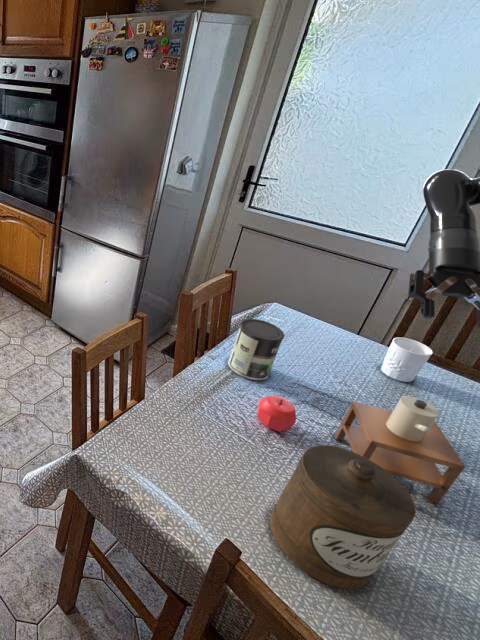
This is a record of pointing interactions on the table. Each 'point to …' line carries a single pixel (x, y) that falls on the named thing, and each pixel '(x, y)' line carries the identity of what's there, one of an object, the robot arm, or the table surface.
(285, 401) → the apple
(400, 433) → the kettle
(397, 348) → the white cup
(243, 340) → the coffee can
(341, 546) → the wooden container
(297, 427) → the table surface
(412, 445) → the stand
